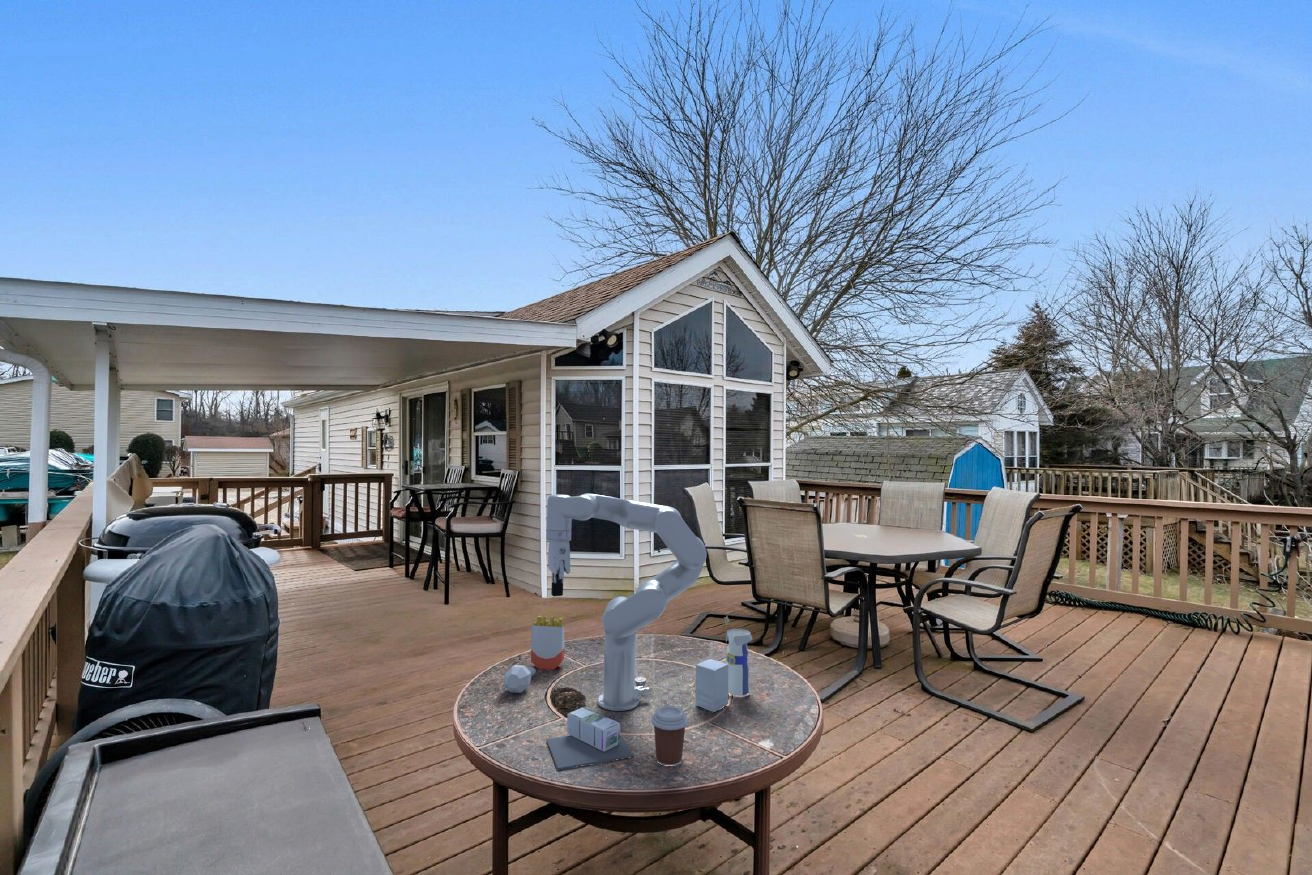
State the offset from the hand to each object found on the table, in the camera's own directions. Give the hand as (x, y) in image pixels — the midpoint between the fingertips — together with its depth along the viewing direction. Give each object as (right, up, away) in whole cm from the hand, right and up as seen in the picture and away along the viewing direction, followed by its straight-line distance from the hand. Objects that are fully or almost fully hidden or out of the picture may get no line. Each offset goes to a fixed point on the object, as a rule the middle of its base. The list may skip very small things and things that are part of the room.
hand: (557, 595), depth 183 cm
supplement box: (+47, -33, -2) cm, 58 cm away
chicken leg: (-13, -32, +11) cm, 37 cm away
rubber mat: (+13, -32, -29) cm, 45 cm away
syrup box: (+8, -28, -21) cm, 36 cm away
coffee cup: (+33, -32, -34) cm, 58 cm away
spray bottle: (+56, -34, +8) cm, 66 cm away
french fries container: (-8, -33, +28) cm, 43 cm away
